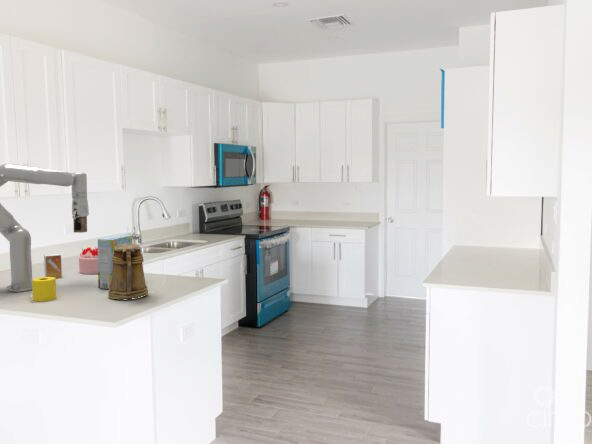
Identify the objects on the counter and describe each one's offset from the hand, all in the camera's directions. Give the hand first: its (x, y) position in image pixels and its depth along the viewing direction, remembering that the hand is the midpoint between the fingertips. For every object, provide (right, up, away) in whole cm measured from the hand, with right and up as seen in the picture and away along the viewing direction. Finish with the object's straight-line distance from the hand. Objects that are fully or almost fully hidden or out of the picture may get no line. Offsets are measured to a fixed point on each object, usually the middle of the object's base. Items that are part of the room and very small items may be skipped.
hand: (80, 229), depth 284 cm
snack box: (+21, -30, -4) cm, 37 cm away
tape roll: (-3, -33, -34) cm, 47 cm away
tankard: (+36, -32, -31) cm, 58 cm away
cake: (-4, -26, +34) cm, 43 cm away
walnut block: (0, -2, 0) cm, 2 cm away
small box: (-22, -28, +16) cm, 39 cm away
